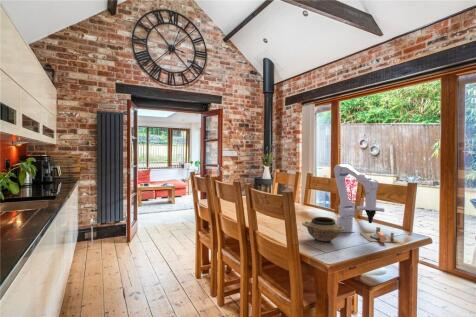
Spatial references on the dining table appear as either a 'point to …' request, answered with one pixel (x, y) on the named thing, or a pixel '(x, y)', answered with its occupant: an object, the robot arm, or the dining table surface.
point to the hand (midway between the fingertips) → (370, 222)
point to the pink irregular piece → (379, 236)
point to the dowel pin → (392, 236)
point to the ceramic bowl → (323, 229)
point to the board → (370, 239)
